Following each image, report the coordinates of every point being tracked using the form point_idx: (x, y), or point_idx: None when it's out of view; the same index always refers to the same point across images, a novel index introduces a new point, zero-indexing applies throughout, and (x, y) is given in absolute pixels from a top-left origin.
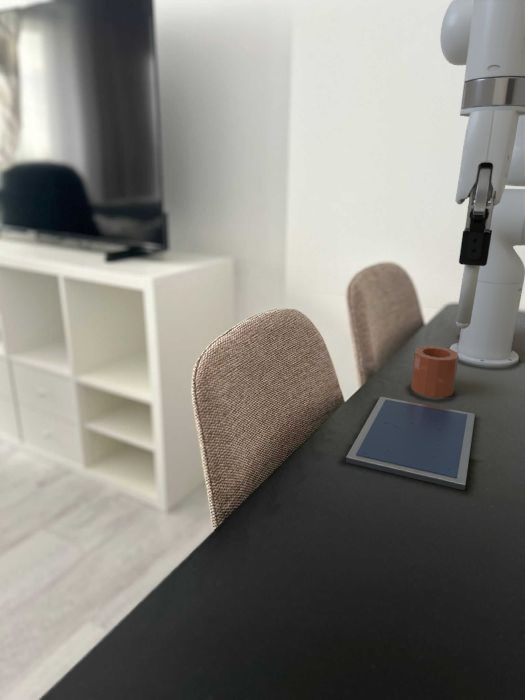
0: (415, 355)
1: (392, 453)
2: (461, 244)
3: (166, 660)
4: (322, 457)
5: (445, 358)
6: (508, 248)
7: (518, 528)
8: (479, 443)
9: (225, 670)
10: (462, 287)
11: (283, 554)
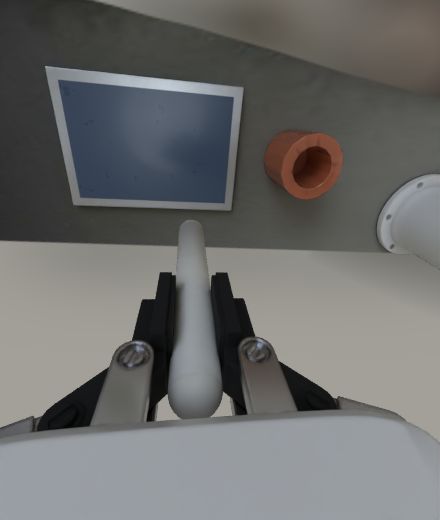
0: (304, 135)
1: (87, 127)
2: (155, 303)
3: None
4: (40, 28)
5: (289, 182)
6: None
7: (48, 241)
8: (175, 214)
9: None
10: (183, 253)
11: None
